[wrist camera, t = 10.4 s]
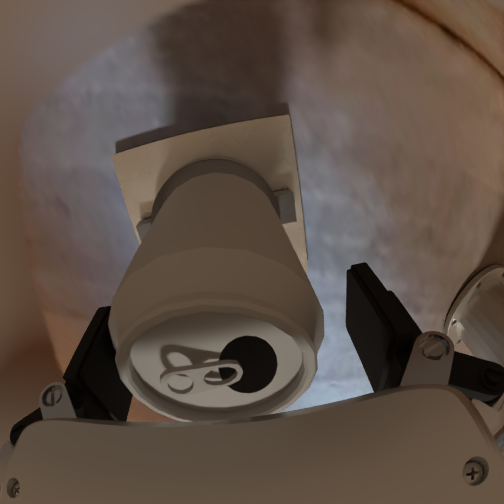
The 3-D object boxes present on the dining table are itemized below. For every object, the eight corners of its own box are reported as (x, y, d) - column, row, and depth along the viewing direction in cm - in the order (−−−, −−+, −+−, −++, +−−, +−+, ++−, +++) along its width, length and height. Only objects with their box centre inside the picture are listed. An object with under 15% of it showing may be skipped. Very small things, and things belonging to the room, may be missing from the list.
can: (275, 273, 20) (320, 426, 10) (169, 280, 20) (137, 436, 9) (276, 166, 17) (363, 269, 6) (152, 175, 16) (53, 289, 6)
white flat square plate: (286, 114, 18) (295, 115, 16) (305, 267, 23) (313, 283, 21) (115, 153, 18) (102, 159, 16) (162, 294, 23) (158, 312, 21)
